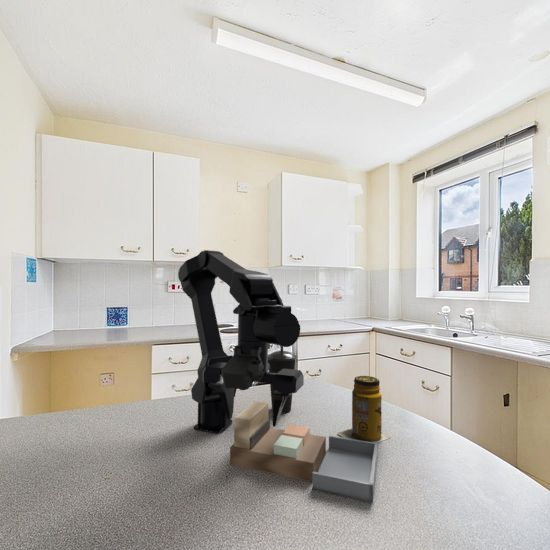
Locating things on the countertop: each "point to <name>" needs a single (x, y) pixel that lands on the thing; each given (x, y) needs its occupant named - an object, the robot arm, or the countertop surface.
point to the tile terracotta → (297, 432)
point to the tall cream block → (251, 425)
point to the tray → (348, 469)
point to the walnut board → (278, 464)
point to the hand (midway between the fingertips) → (251, 422)
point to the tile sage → (288, 446)
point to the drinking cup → (277, 363)
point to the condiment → (366, 411)
